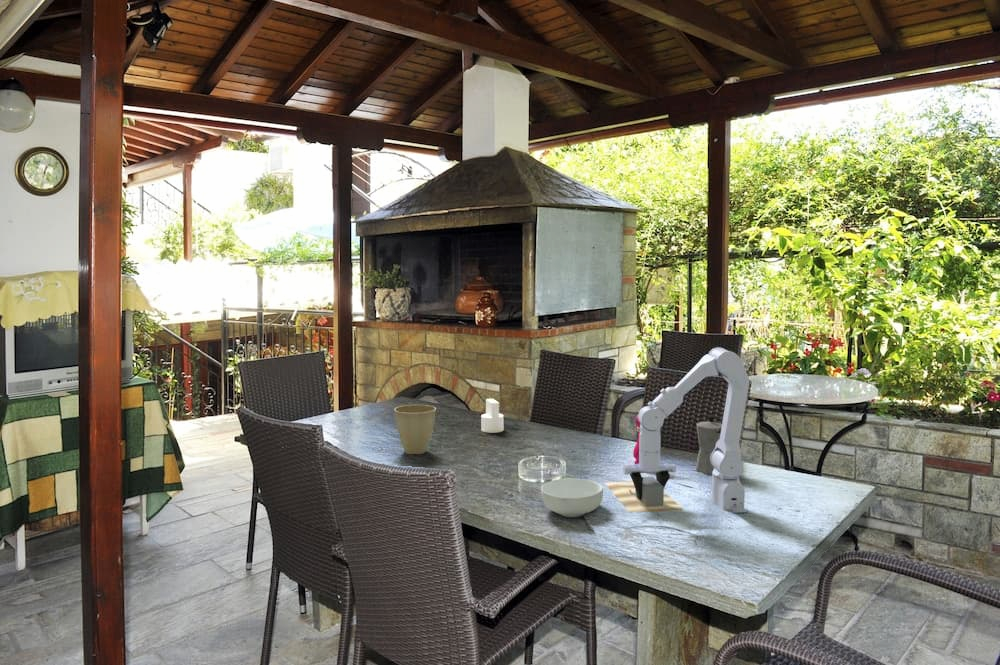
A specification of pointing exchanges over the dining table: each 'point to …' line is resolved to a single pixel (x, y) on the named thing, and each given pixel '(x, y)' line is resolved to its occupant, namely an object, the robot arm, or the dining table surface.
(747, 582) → the dining table surface
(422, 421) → the plant pot
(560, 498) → the cereal bowl
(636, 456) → the pepper mill
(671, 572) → the dining table surface
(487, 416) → the base with upright slab
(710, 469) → the coffeepot
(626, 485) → the birch board
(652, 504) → the block
